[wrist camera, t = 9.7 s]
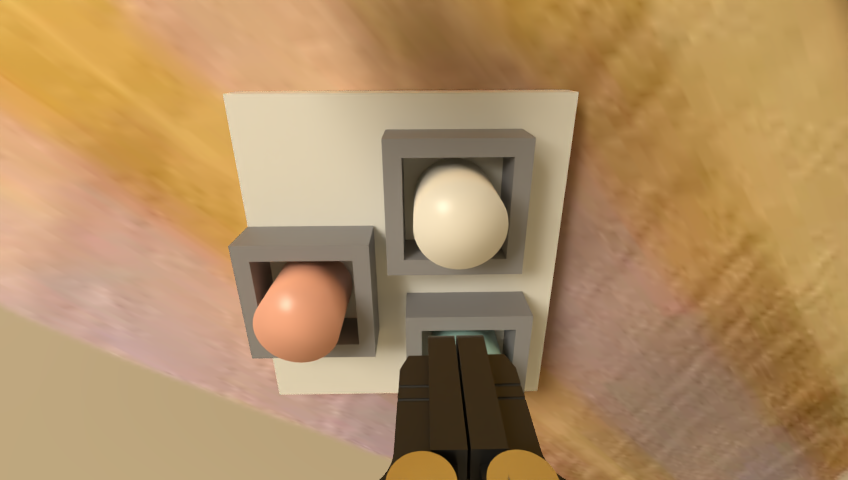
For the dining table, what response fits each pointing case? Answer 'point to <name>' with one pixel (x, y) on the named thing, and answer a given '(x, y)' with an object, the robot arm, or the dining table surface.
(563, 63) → the dining table surface
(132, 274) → the dining table surface
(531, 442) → the robot arm
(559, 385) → the dining table surface
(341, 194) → the console
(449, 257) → the ivory button
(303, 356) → the coral button
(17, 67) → the dining table surface
